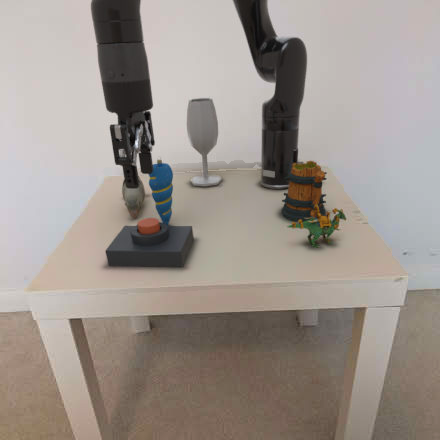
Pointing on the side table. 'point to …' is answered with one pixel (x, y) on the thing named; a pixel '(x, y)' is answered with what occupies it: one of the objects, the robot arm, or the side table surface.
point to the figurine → (320, 225)
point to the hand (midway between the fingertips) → (140, 180)
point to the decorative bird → (133, 197)
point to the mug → (304, 192)
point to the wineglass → (203, 135)
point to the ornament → (162, 189)
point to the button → (148, 226)
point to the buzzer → (151, 247)
